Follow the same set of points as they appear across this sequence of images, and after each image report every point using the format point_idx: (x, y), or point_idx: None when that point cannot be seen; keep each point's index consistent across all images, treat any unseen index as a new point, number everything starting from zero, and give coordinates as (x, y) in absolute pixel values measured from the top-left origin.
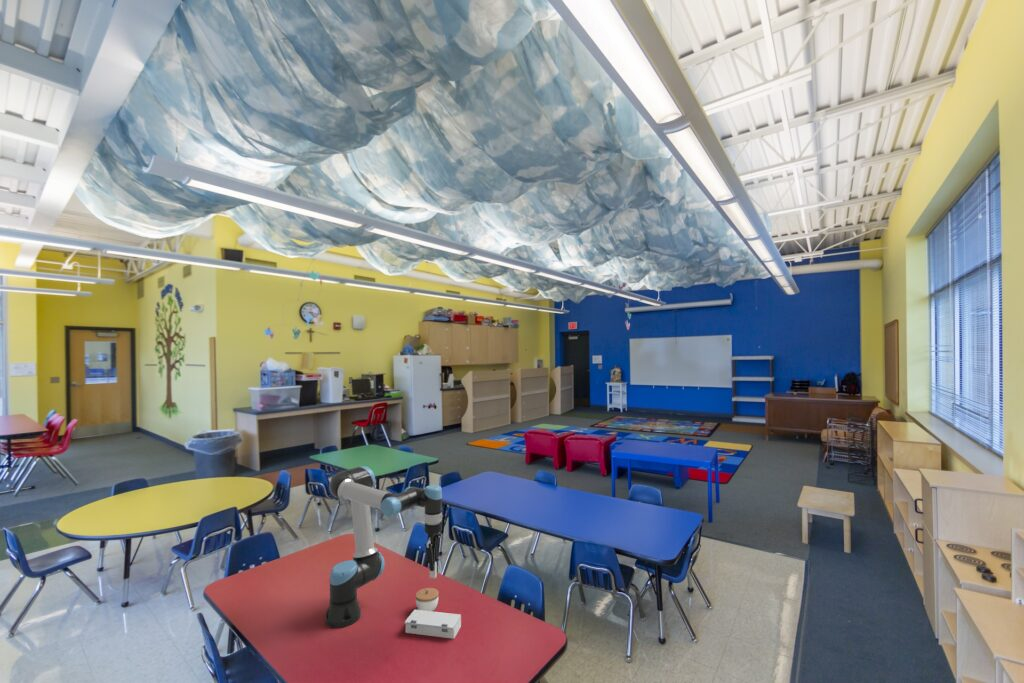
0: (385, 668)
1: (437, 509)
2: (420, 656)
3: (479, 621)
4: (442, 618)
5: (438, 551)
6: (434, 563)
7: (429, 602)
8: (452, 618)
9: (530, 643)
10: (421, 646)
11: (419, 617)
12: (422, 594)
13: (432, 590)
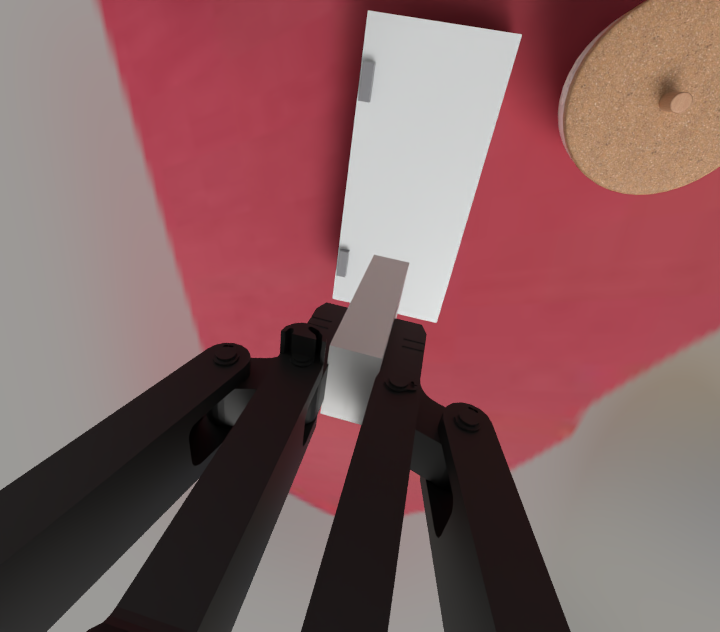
0: (135, 20)
1: None
2: (236, 164)
3: (468, 361)
4: (405, 243)
5: (438, 556)
6: (324, 398)
7: (564, 139)
8: (405, 289)
9: (346, 474)
10: (294, 152)
11: (417, 106)
12: (656, 62)
13: (704, 138)
